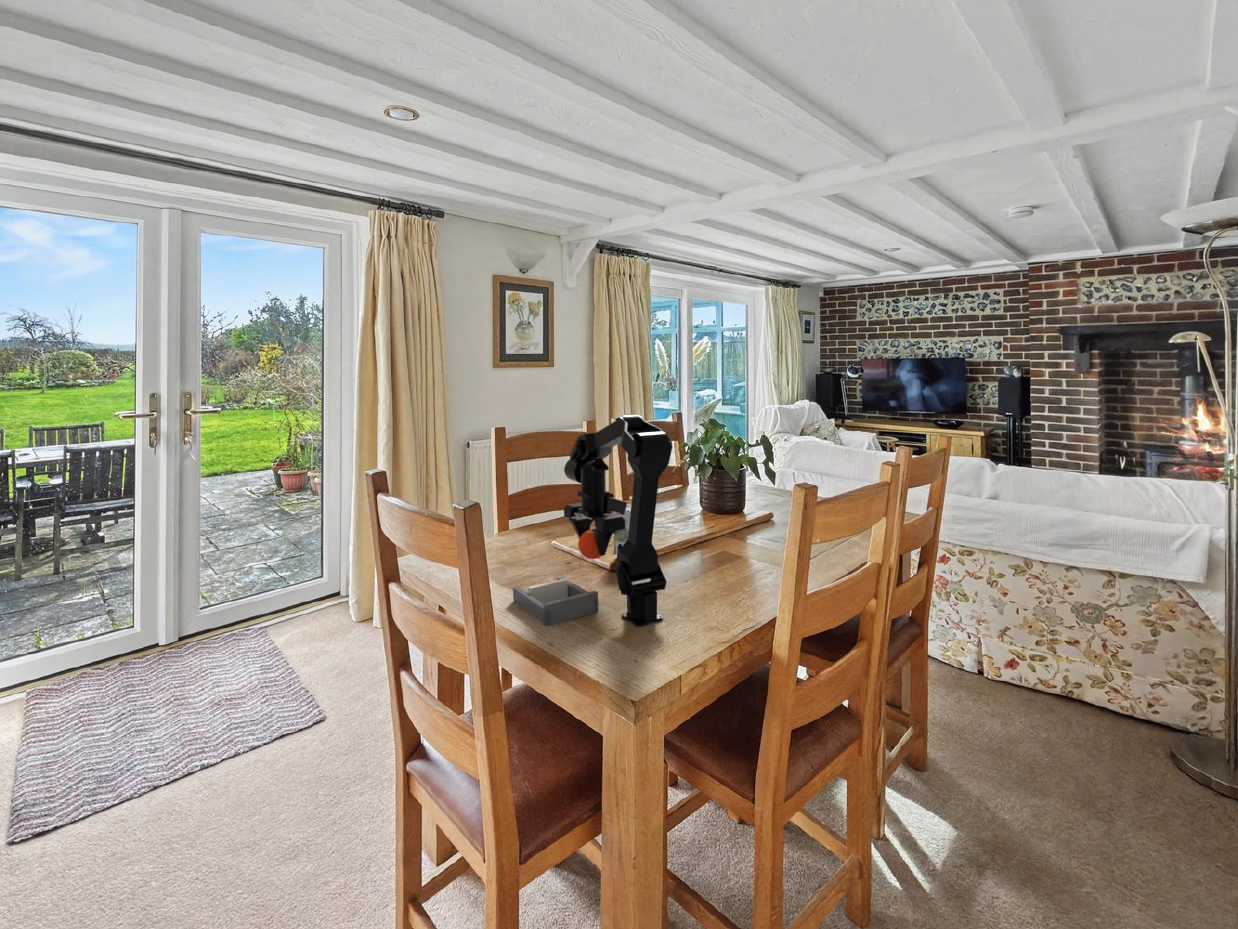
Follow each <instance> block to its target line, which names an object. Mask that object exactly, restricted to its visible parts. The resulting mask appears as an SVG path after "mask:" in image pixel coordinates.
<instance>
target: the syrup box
mask: <svg viewBox="0 0 1238 929" xmlns="http://www.w3.org/2000/svg"><path fill="white" fill-rule="evenodd" d="M612 512H613V513H612V514H616V515H619V516H622V517H623V518H624V519H625V520H626V528H625V529H621V530H618V531H615V532H614V533H613V555H614V554H617V548H618V545H619V544H620V543H625V542H626V541H627V540H628V535H629V525H630V514H631V504H628V503H627V506H626V510H625V513H624V515H622V514H620V513H617V512H614V511H612Z"/></svg>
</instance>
